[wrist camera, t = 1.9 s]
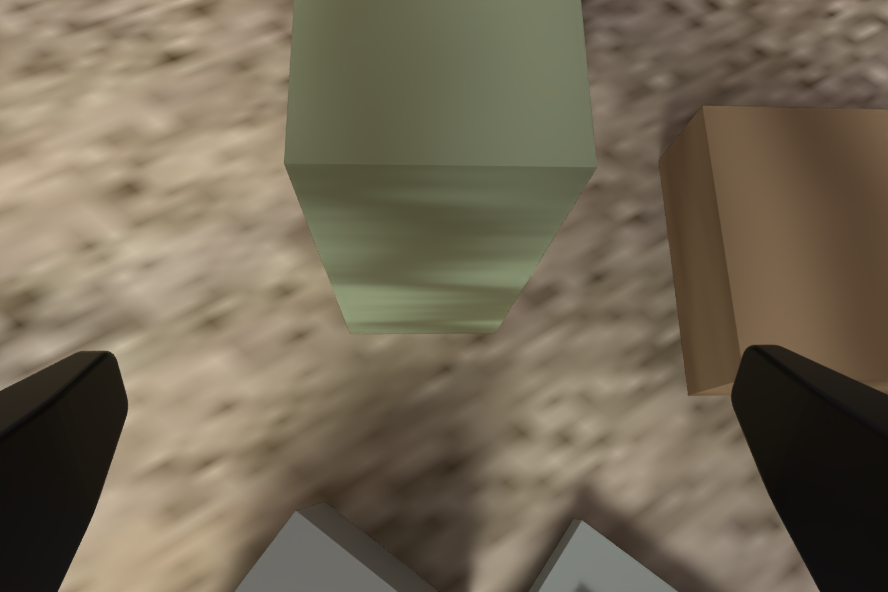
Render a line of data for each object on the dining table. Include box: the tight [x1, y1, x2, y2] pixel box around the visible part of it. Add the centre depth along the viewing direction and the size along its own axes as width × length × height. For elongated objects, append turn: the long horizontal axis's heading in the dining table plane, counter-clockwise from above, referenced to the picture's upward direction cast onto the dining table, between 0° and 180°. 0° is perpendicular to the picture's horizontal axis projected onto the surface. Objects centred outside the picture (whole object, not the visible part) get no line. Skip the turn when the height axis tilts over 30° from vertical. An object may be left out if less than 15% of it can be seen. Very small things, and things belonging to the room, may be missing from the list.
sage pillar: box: [284, 0, 597, 334], centre depth 16 cm, size 5×5×12 cm
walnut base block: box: [659, 106, 888, 396], centre depth 21 cm, size 9×9×4 cm
